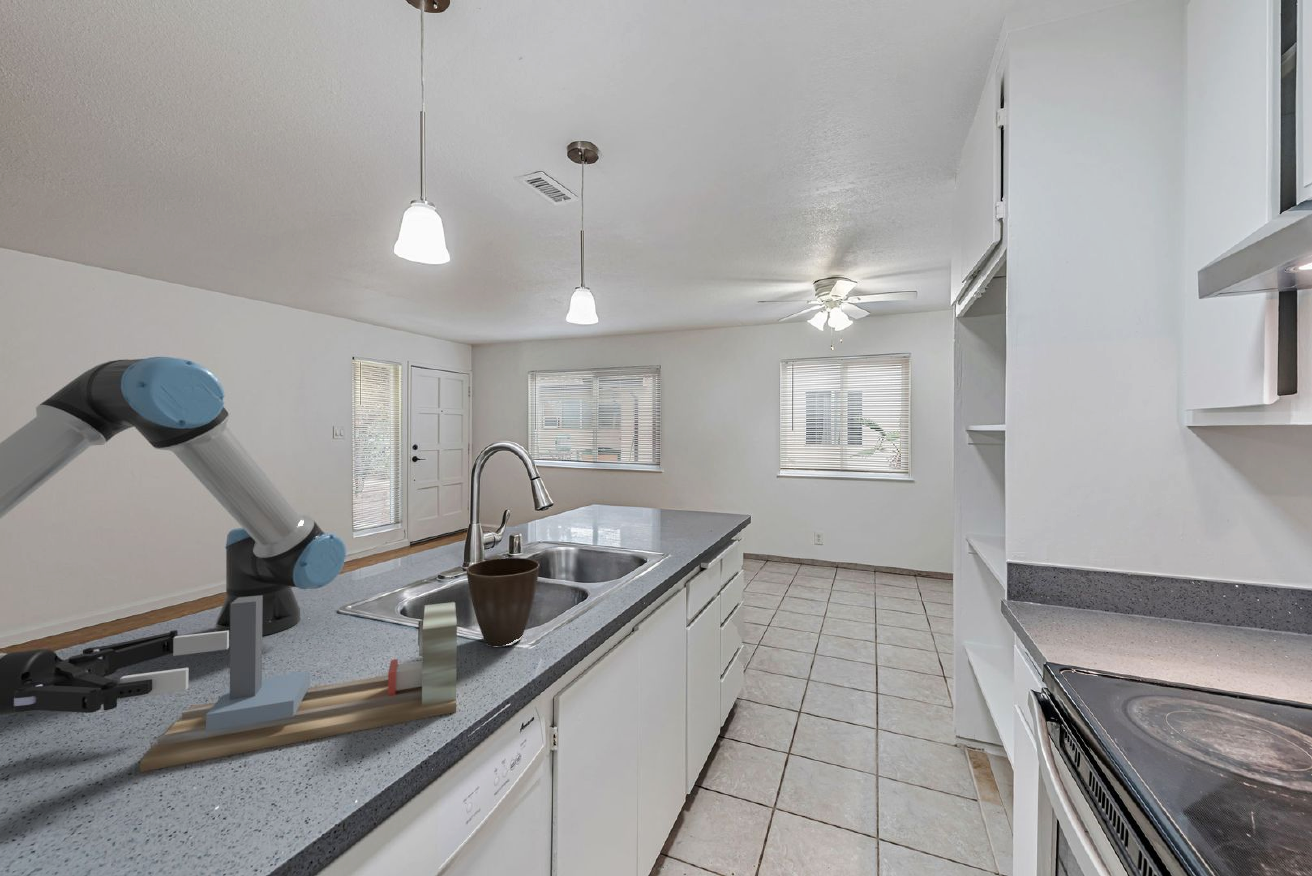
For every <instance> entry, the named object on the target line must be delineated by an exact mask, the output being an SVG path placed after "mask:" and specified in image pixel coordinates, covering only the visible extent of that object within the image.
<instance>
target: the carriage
mask: <svg viewBox="0 0 1312 876" xmlns="http://www.w3.org/2000/svg"><path fill="white" fill-rule="evenodd" d="M262 605H263V595H261V596H250V597H239V598H237V599H236V600H235V601H233V602H232V603H231V604H230V639H229V687H228V688H227V689H226V690H225V692H224V693H223V694H222V695H221V696H220V697H219V699H218V700H217V701H216V703H215V702H214V703H215V705H214V706H213V707H212V708H211V709H210V711H209V712H208V713H207V714H206V732H209V731H215V730H220V729H226V728H232V727H238V726H243V725H249V724H255V723H261V722H266V721H272V720H278V719H284V718H289V717H294V715H295V713H296V711H297V709H298V707H299V705H300V703H301V701H302V699H303V697H304V695H305V694H306V692H307V690H308V688H310V686H311V670H303V671H298V672H297V671H296V672H290V673H289V672H288V673H283V674H276V675H270V676H263V636H262Z"/></svg>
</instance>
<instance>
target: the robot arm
mask: <svg viewBox="0 0 1312 876" xmlns="http://www.w3.org/2000/svg"><path fill="white" fill-rule="evenodd" d="M224 398H225V391H224V387H223V385H222V383H221V382H220V380H219V379H218V378H217V376H216V375H215V374H214V373H212V372H211V370H209V369H207V368H206V367H205V366H204V365H203V366H202V365H201V364H199V363H197V362H195V361H192V360H189V359H184V358H177V357H176V358H175V357H169V356H153V357H147V358H137V359H136V358H135V359H116V360H109V361H107V362H104V363H100V364H97V365H95V366H93V367H92V368H90V369H88V370H87V371H85V372H83V373H82V374H80V375H79V376H77V377H76V378H75V379H73V380H72V381H70V382H69V383H67V384H66V385H64V386H63V387H61V389H59V390H58V391H57V392H55V393H54V394H53V395H51V396H50V397H48V398H47V399H46V400H44V401H43V402H41V403H40V404H38V405H37V406H36V407H35V411H36V416H35V417H34V418H33V419H31V420H30V421H28V422H27V423H26V424H24V425H23V426H22V427H20V428H19V429H17V430H16V431H15V432H13V433H12V434H11V435H9V436H8V437H7V438H5V439H3V441H1V442H0V520H1V519H2V518H4V516H6V515H7V514H8V513H9V512H11V511H12V510H13V509H14V508H16V507H17V506H19V505H20V504H21V503H22V502H24V501H25V500H26V499H27V498H28V497H30V496H31V495H32V494H34V493H35V492H36V491H37V490H38V489H39V488H40V487H42V486H43V485H44V484H46V483H47V482H48V481H50V480H51V478H53V477H54V476H55V475H57V474H58V473H59V472H60V471H61V470H63V469H65V468H66V467H67V466H68V465H69V464H70V463H72V461H74V460H75V459H76V458H77V457H79V456H80V455H81V454H82V453H84V452H85V451H86V450H88V449H89V448H90V447H92V446H103V445H105V444H106V443H108V442H109V441H110V440H111V439H112V438H113V437H115V436H116V435H118V434H120V433H121V432H124V431H126V430H128V429H131V428H135V429H136V430H137V431H138V432H139V433H140V434H141V435H142V436H143V438H145V440H147V442H148V444H150V445H151V446H152V447H153V448H154V449H155V450H160V451H161V450H163V451H170V452H172V453H173V454H174V455H175V456H176V457H177V458H178V459H179V461H180V462H182V464H183V465H184V466H185V467H186V468H187V469H188V470H189V471H190V472H191V473H192V475H193V476H195V478H196V479H197V480H198V481H199V482H200V483H201V484H202V486H204V488H206V489H207V491H208V492H209V493H210V494H211V495H212V496H213V497H214V499H216V500H217V501H218V503H220V505H221V506H222V507H223V508H224V509H225V511H227V513H228V514H230V516H231V517H232V518H233V519H234V520H235V522H237V524H239V526H241V527H238V528H234V529H231V530H230V531H229V532H228V533H227V536H226V542H225V543H226V544H225V547H224V548H225V549H226V550H225V553H226V554H225V557H226V560H225V562H226V563H225V564H226V567H225V568H226V569H225V570H226V571H225V573H226V575H225V578H226V579H225V580H226V581H225V585H226V586H225V589H226V590H225V591H226V593H225V594H226V595H225V599H224V601H223V604H222V607H221V610H220V612H219V614H218V617H217V619H216V622H215V625H214V626H215V628H214V631H211V632H204V633H195V634H193V633H191V634H184V635H178V633H179V632H178V630H177V629H174V630H170V631H169V632H165V633H161V634H156V635H151V636H146V637H142V638H136V639H132V640H127V641H126V640H125V641H122V642H121V641H120V642H117V643H113V644H108V645H107V644H106V645H102V646H101V645H100V646H93V647H87V648H85V649H82V653H80V654H76V655H73V656H70V657H68V658H67V659H62V658H60V657H59V656H58V655H57V653H56V652H55V651H54V650H52V649H49V648H39V649H29V650H23V651H12V652H8V653H6V652H0V716H7V715H13V714H19V713H27V712H32V711H44V712H45V711H46V712H63V713H64V712H65V713H82V714H91V713H95V712H98V711H100V710H101V709H102V705H103V711H109V710H112V709H115V708H117V707H118V699H119V700H120V701H122V700H129V699H135V698H143V697H149V696H156V695H162V694H170V693H177V692H184V691H187V690H188V689H189V671H190V670H189V667H183V668H174V669H168V670H160V671H152V672H151V671H150V672H144V673H136V674H130V675H129V674H128V675H123V676H121V677H120V678H119V683H118V681H117V680H115V679H111V678H107V677H108V676H111V675H114V674H115V673H116V672H117V670H120V669H123V668H126V667H127V668H128V667H130V666H133V665H137V664H140V663H144V662H147V661H151V660H153V659H158V658H161V657H165V656H168V655H173V657H176V656H182V655H191V654H193V655H194V654H198V653H206V652H207V653H208V652H216V651H224V650H228V649H230V604H231V603H232V602H233V601H235V600H236V599H237V598H239V597H250V596H261V595H263V605H262V637H263V636H267V635H268V636H269V635H272V634H275V633H278V632H281V631H286V630H287V629H289V628H291V627H294V626H295V625H297V624H298V623H299V622H300V621H301V607H300V606H299V603H298V600H297V598H296V596H295V593H294V591H293V588H297V589H300V590H317V589H322V588H323V587H325V586H328V585H329V584H330V583H332V582H333V581H334V580H335V579H336V578H337V576H338V575H340V573H341V571H342V570H343V567H344V565H345V559H346V557H347V547H346V544H345V542H344V540H343V539H342V538H341V537H339V536H338V535H335V534H333V533H331V532H330V533H325V532H324V531H323V530H322V528H320V526H319V525H318V523H317V522H316V521H315V520H314V518H312V517H311V516H309V515H301V514H300V515H299V514H298V512H297V511H296V510H295V508H293V506H292V505H291V504H290V502H288V500H287V499H286V497H284V495H283V494H282V492H280V490H279V489H278V488H277V486H276V485H275V484H274V483H273V482H272V481H271V479H270V478H269V476H267V474H266V473H265V471H263V469H262V468H261V466H259V464H258V463H257V462H256V461H255V459H254V458H253V457H252V456H251V454H250V453H249V452H248V451H247V450H246V449H245V447H244V446H243V444H242V443H241V442H240V441H239V440H238V438H237V437H236V436H235V435H234V434H233V432H232V431H231V430H230V428H229V427H228V426H227V423H228V420H229V418H230V413H229V412H228V411H227V409H226V408H225V407H224V405H225V402H224Z"/></svg>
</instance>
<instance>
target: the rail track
mask: <svg viewBox="0 0 1312 876" xmlns="http://www.w3.org/2000/svg"><path fill="white" fill-rule="evenodd" d="M423 611H424V613H423V619H421V620H418V625H417V627H418V629H417V630H418V633H417V634H418V637H417V643H418V644H417V646H418V656H419V657H422V658H421V661H422V686H421V687H415V688H409V689H403V690H397V691H396V695H393V696H388V675H383V676H376V677H369V678H363V679H357V680H350V681H343V682H339V683H332V684H325V685H319V686H312V687H309V688H308V690H307V692H306V694H305V695H304V697H303V699H302V701H301V703H300V705H299V707H298V709H297V711H296V713H295V715H294V717H289V718H284V719H278V720H272V721H266V722H261V723H255V724H249V725H243V726H238V727H232V728H226V729H220V730H215V731H209V732H206V714H207V713H208V712H209V711H210V709H211V708H212V707H213V706H214V705H215V703H216V702H217V701H216V702H211V703H210V702H209V703H204V704H198V705H197V704H196V705H191V706H189V707H187V708H185V709H184V710H183V711H182V712H181V716H180V717H179V718H178V719H177V720H176V721H175V722H174V723H173V724H172V725H171V727H170V728H169V729H167V731H166V732H165V733H164V734H160V736H159V737H158V738H157V742H156V743H155V745H153V746H152V747H151V749H150V750H149V751H148V752H147V753H146V754H144V756H143V757H142V758H141V760H139V761H140V762H139V763H140V765H139V767H140V768H139V769H140V771H139V772H140V773H144V772H149V771H153V770H154V771H155V770H160V769H165V768H170V767H174V766H180V765H185V764H191V763H195V762H202V761H207V760H211V759H217V758H221V757H227V756H233V755H237V754H243V753H249V752H255V751H259V750H265V749H270V748H274V747H279V746H284V745H290V744H296V743H301V742H306V741H311V740H317V739H321V738H326V737H333V736H337V735H343V734H348V733H354V732H358V731H362V730H363V731H364V730H368V729H374V728H378V727H379V728H380V727H385V726H389V725H390V726H391V725H396V724H400V723H405V722H411V721H415V720H421V719H426V718H431V717H437V716H442V715H446V714H447V715H448V714H452V713H457V658H458V657H457V656H458V655H457V651H458V650H457V649H458V648H457V646H458V645H457V644H458V639H457V638H458V634H457V633H458V621H457V611H456V602H454V601H451V602H443V603H434V604H425V605H424V610H423Z"/></svg>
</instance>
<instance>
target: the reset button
mask: <svg viewBox="0 0 1312 876" xmlns="http://www.w3.org/2000/svg"><path fill="white" fill-rule="evenodd" d="M387 676H388V696H393V695H396V691H397V690H403V689H409V688H415V687H421V686H422V660H418V661H411V662H405V663H399V660H398V658H395V659H391V660H390V663H389V668H388V675H387Z"/></svg>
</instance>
